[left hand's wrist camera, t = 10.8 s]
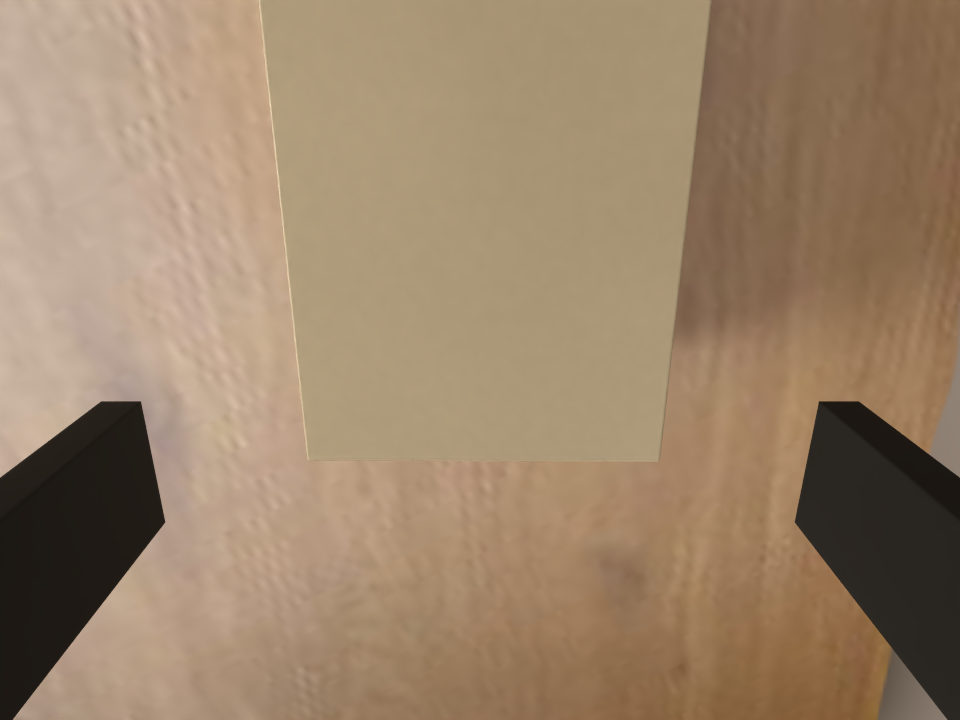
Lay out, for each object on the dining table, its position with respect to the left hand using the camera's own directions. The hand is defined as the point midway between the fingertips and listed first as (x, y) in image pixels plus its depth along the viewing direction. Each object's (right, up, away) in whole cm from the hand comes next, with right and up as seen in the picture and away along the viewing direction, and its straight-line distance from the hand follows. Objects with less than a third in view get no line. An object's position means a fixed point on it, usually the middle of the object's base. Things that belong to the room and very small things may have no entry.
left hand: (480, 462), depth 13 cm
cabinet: (0, +12, +12) cm, 17 cm away
